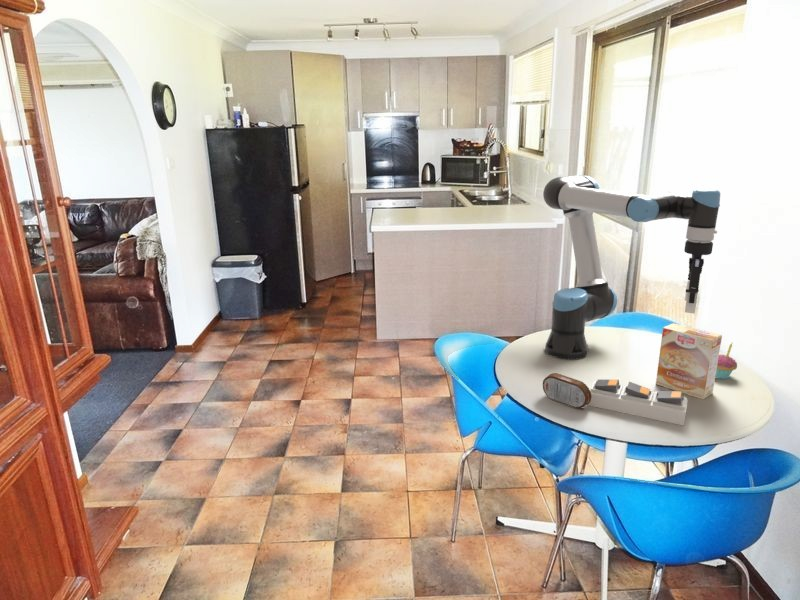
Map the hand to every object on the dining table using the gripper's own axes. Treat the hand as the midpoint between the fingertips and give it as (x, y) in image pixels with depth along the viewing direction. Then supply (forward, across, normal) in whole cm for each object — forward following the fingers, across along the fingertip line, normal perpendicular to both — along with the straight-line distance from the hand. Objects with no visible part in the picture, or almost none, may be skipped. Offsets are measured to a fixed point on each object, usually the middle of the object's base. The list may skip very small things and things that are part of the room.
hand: (689, 306), depth 175 cm
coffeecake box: (+25, -9, -2) cm, 26 cm away
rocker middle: (+19, -29, +11) cm, 36 cm away
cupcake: (+25, +7, -12) cm, 28 cm away
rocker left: (+19, -29, +20) cm, 40 cm away
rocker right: (+19, -30, +3) cm, 35 cm away
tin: (+25, -34, +30) cm, 52 cm away
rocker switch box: (+25, -29, +12) cm, 40 cm away
